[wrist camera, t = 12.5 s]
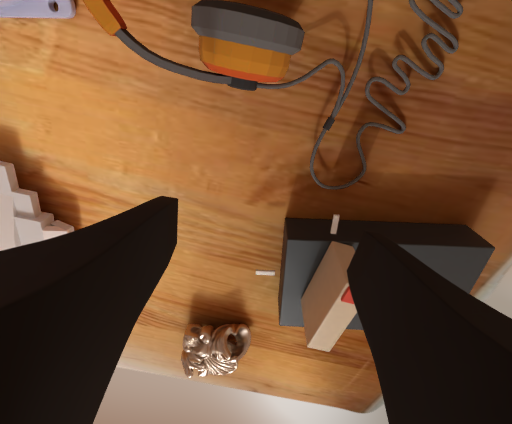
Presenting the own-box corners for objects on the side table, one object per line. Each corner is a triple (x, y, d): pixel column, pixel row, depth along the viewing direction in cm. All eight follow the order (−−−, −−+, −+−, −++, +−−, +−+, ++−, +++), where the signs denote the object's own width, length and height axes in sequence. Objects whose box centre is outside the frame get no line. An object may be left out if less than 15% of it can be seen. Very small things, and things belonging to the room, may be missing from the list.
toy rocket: (-67, 141, 18) (-108, 150, 16) (72, 170, 19) (49, 182, 17) (-6, 296, 26) (-29, 315, 24) (92, 314, 27) (78, 334, 25)
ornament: (219, 298, 25) (212, 331, 22) (263, 335, 27) (262, 370, 24) (165, 329, 28) (151, 363, 24) (209, 361, 30) (202, 396, 27)
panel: (256, 297, 25) (254, 326, 22) (258, 192, 19) (257, 212, 17) (427, 306, 24) (447, 336, 21) (478, 200, 19) (514, 222, 16)
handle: (319, 304, 21) (330, 356, 17) (300, 299, 20) (307, 350, 17) (353, 246, 18) (375, 292, 14) (331, 240, 18) (348, 286, 14)
